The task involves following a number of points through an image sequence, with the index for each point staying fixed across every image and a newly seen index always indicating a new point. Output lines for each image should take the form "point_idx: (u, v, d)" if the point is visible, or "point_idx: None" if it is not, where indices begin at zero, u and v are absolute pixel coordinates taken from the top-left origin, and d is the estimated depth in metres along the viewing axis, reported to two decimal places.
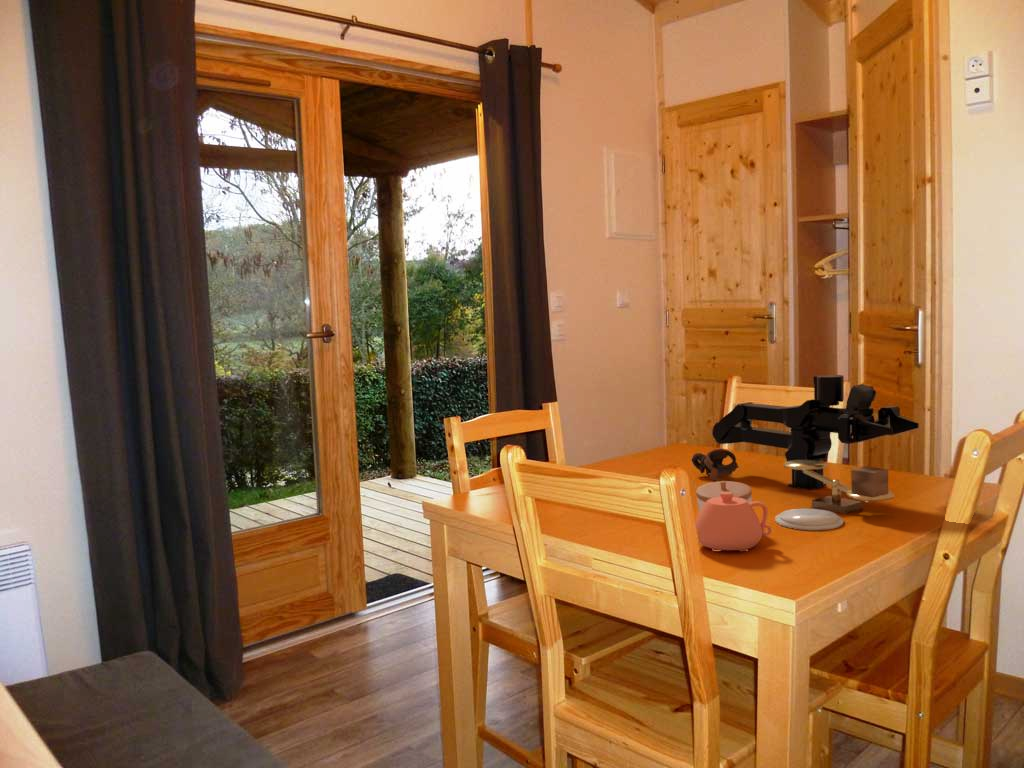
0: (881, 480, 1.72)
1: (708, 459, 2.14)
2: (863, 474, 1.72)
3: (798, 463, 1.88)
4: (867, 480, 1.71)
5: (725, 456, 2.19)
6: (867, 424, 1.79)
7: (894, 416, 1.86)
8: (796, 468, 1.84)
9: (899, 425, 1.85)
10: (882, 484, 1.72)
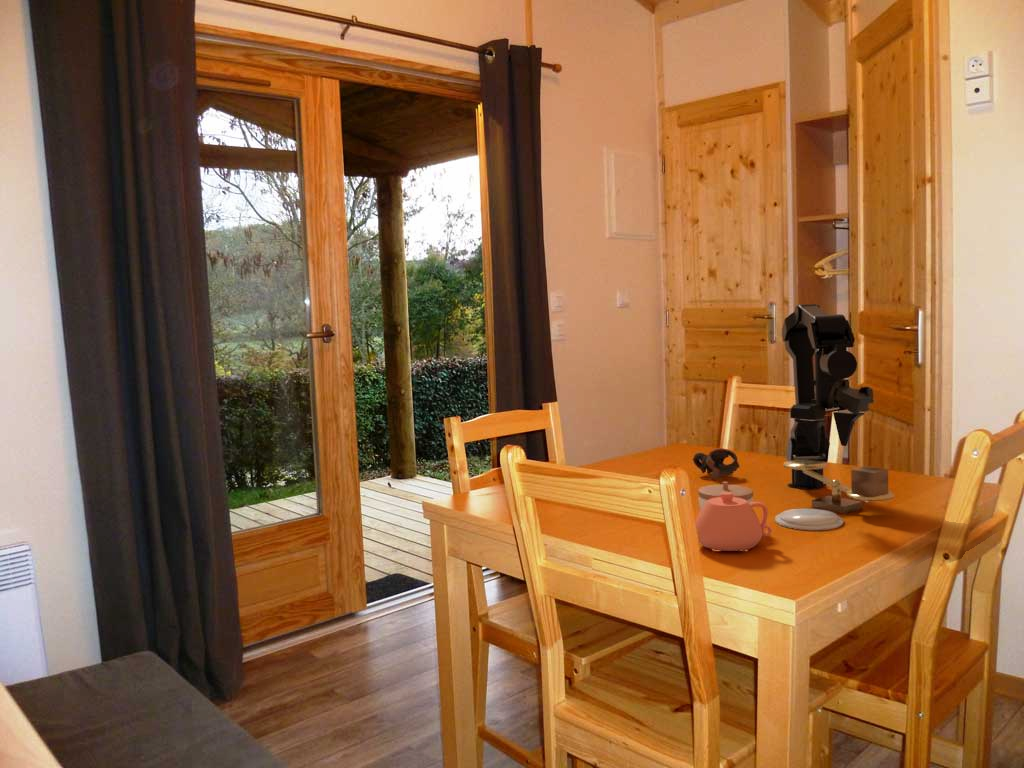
0: (881, 480, 1.72)
1: (709, 459, 2.14)
2: (863, 474, 1.72)
3: (798, 463, 1.88)
4: (867, 480, 1.71)
5: (726, 456, 2.19)
6: (815, 430, 1.74)
7: (850, 419, 1.80)
8: (796, 468, 1.84)
9: (842, 424, 1.81)
10: (882, 484, 1.72)
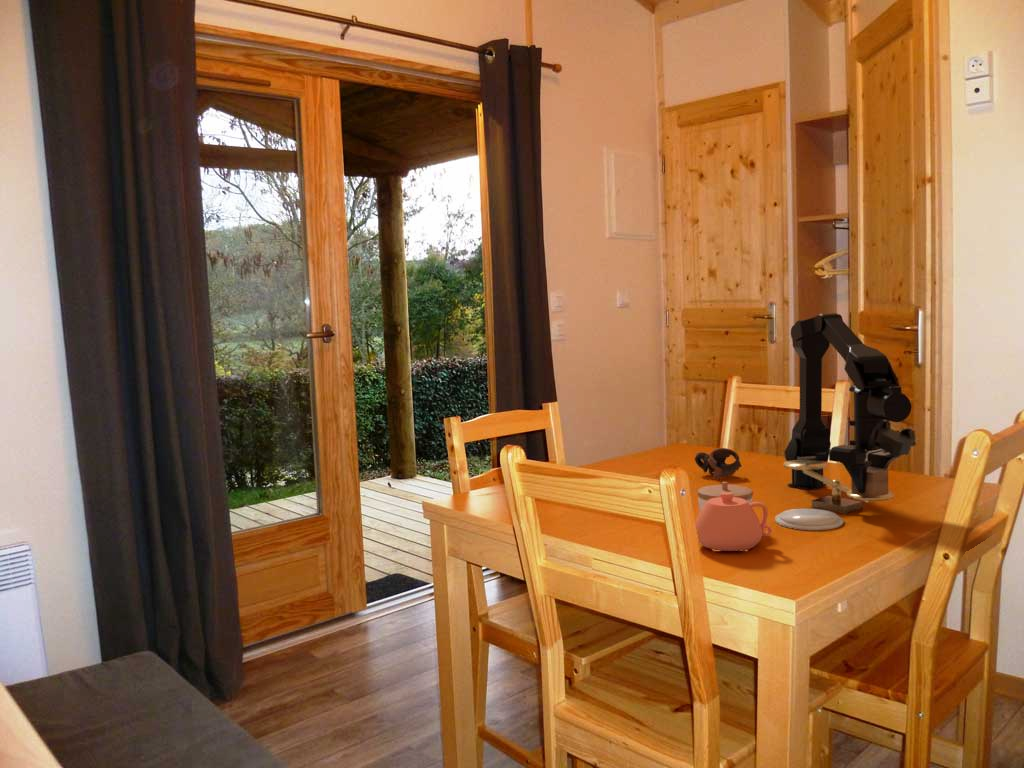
0: (881, 480, 1.72)
1: (711, 458, 2.15)
2: None
3: (798, 463, 1.88)
4: (867, 480, 1.71)
5: (728, 455, 2.20)
6: (861, 472, 1.70)
7: (884, 461, 1.74)
8: (796, 468, 1.84)
9: (876, 467, 1.75)
10: (882, 484, 1.72)
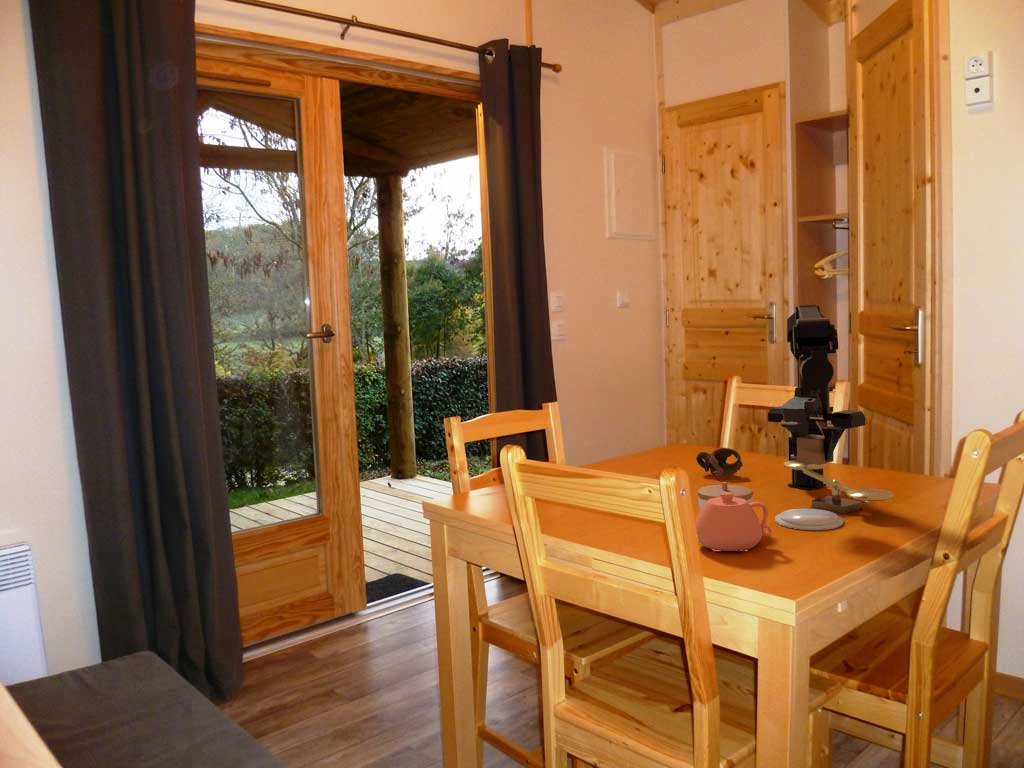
0: (809, 448, 1.68)
1: (713, 458, 2.15)
2: None
3: (798, 463, 1.88)
4: None
5: (729, 455, 2.20)
6: None
7: None
8: (796, 468, 1.84)
9: None
10: (811, 453, 1.68)
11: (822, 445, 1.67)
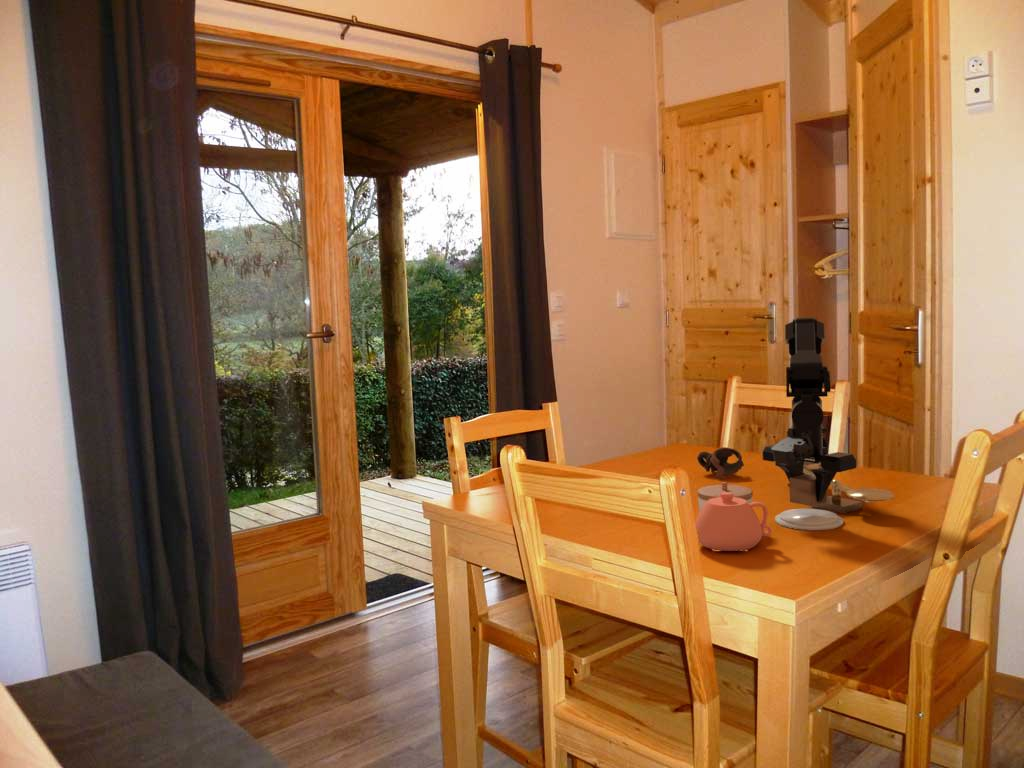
0: (801, 488, 1.69)
1: (714, 457, 2.15)
2: None
3: None
4: None
5: (730, 454, 2.20)
6: None
7: None
8: None
9: None
10: (802, 494, 1.69)
11: (813, 486, 1.68)
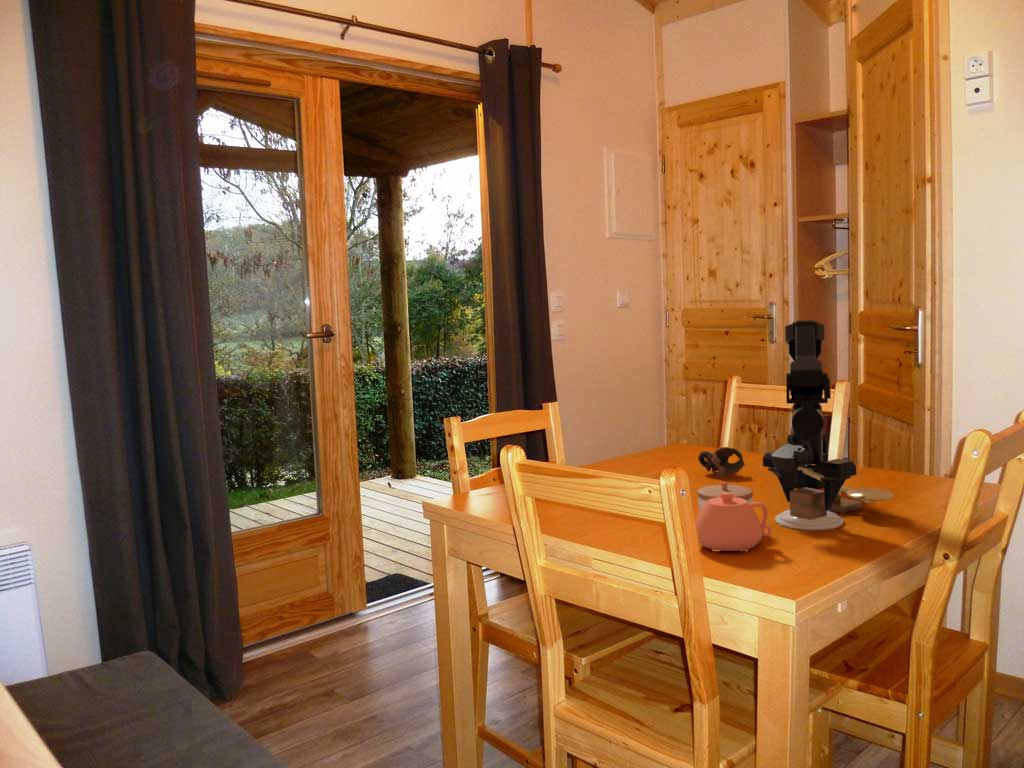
0: (801, 502, 1.70)
1: (715, 457, 2.16)
2: None
3: None
4: None
5: (731, 454, 2.21)
6: None
7: None
8: None
9: None
10: (802, 508, 1.69)
11: (814, 500, 1.68)
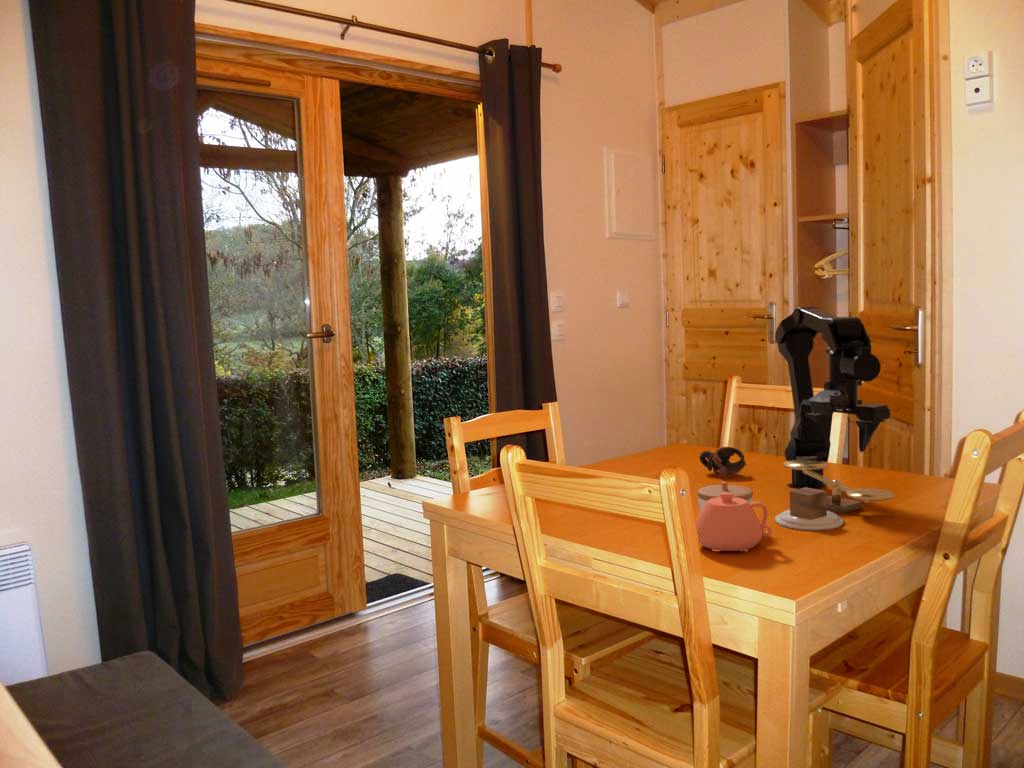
0: (801, 502, 1.70)
1: (717, 457, 2.16)
2: None
3: (798, 463, 1.88)
4: None
5: (732, 454, 2.21)
6: None
7: None
8: (796, 468, 1.84)
9: None
10: (802, 508, 1.69)
11: (814, 500, 1.68)
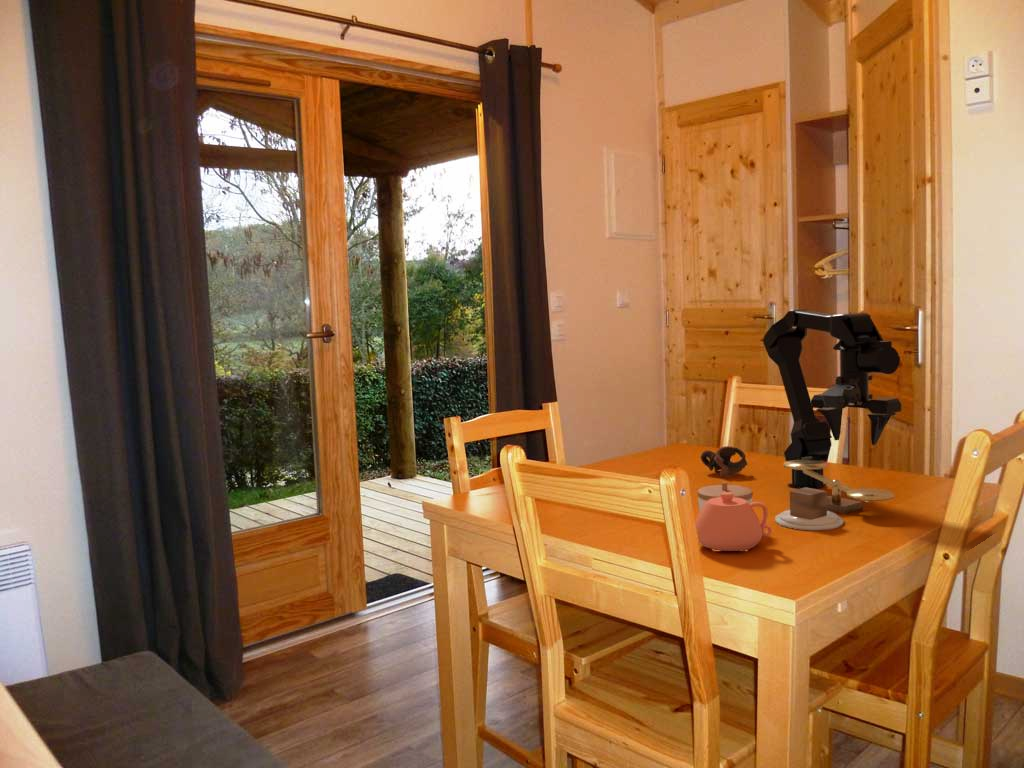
0: (801, 502, 1.70)
1: (718, 456, 2.16)
2: None
3: (798, 463, 1.88)
4: None
5: (733, 453, 2.22)
6: None
7: None
8: (796, 468, 1.84)
9: None
10: (802, 508, 1.69)
11: (814, 500, 1.68)
